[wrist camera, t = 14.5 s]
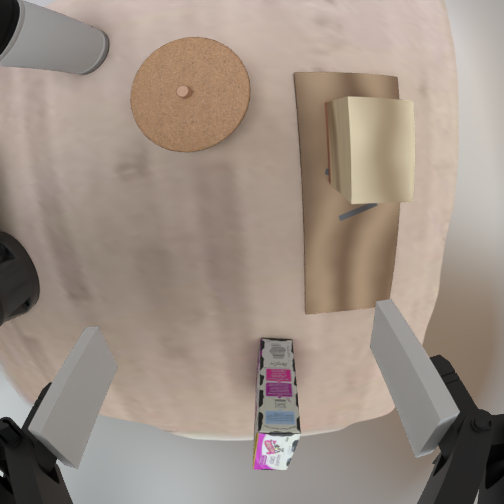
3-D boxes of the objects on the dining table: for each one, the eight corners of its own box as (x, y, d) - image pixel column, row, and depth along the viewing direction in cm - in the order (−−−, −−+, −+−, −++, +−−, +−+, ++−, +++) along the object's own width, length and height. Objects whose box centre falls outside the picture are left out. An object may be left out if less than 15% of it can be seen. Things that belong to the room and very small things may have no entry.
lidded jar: (159, 148, 32) (125, 159, 23) (157, 60, 28) (122, 42, 19) (252, 144, 32) (249, 152, 23) (252, 52, 27) (248, 27, 19)
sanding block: (328, 182, 32) (351, 204, 24) (324, 102, 29) (347, 96, 21) (378, 181, 32) (413, 201, 24) (376, 104, 28) (413, 100, 20)
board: (305, 311, 40) (305, 314, 40) (293, 73, 28) (294, 72, 27) (386, 302, 40) (388, 305, 39) (394, 77, 27) (397, 76, 27)
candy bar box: (258, 337, 43) (256, 432, 28) (292, 338, 43) (303, 433, 28) (254, 385, 47) (251, 471, 32) (283, 386, 47) (288, 471, 32)
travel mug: (102, 19, 25) (-7, -26, 6) (115, 58, 27) (-5, 27, 9) (64, 45, 26) (-51, 26, 7) (75, 83, 28) (-49, 82, 10)
